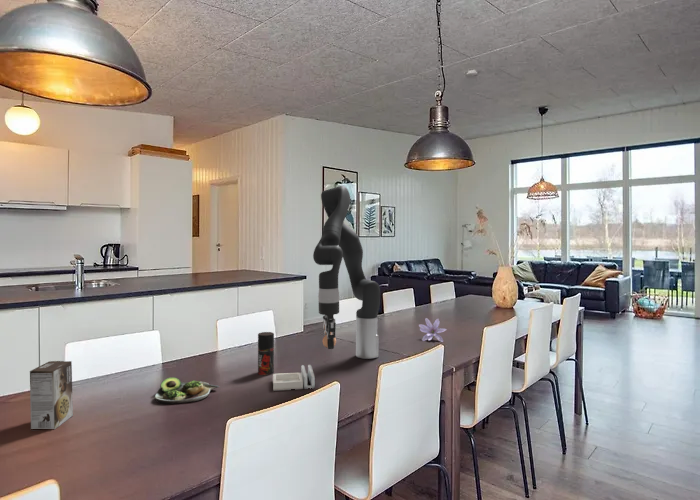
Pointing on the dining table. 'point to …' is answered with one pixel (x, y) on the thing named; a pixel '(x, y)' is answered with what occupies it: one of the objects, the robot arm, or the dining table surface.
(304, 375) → the grey grooved channel
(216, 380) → the dining table surface
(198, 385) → the salad plate
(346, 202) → the robot arm
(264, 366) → the deodorant
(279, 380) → the dish
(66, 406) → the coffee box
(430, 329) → the water lily
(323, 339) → the ball
